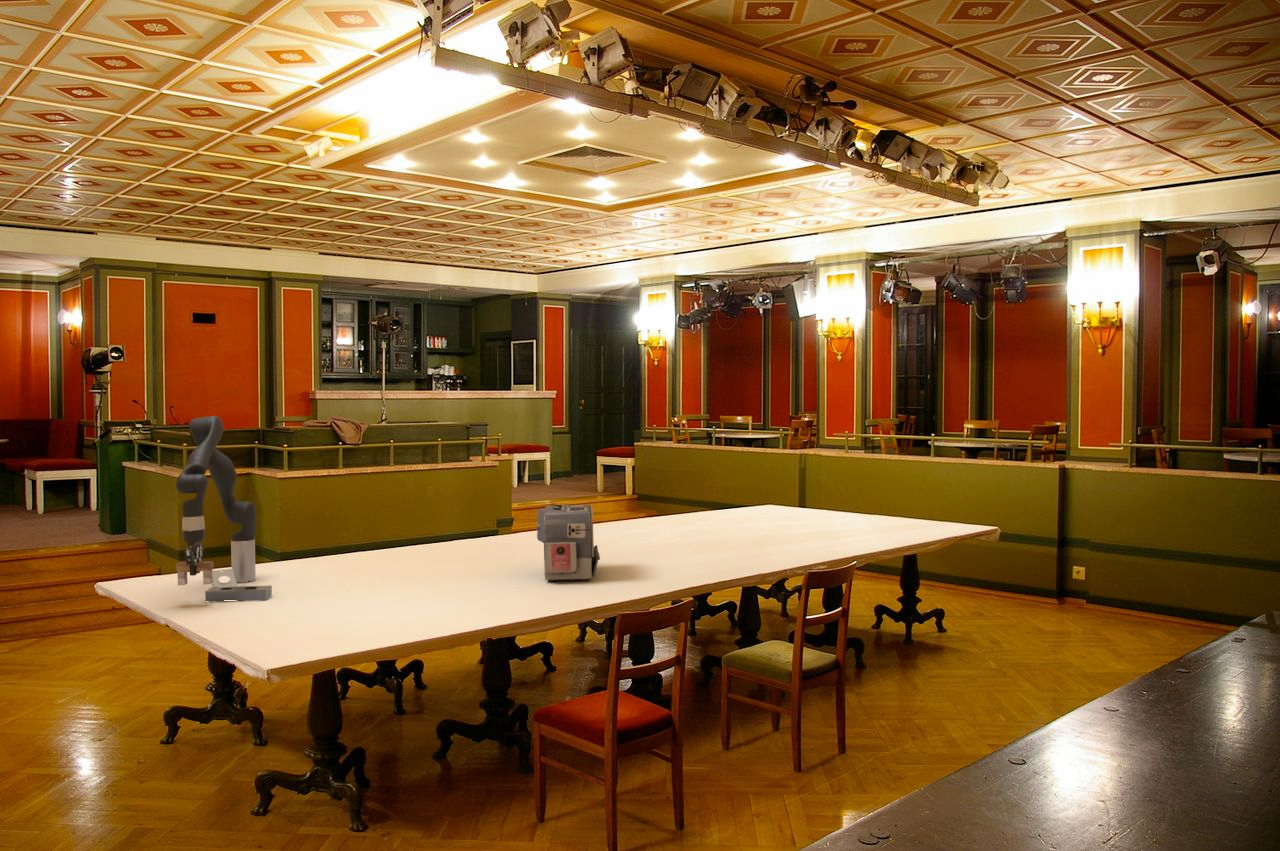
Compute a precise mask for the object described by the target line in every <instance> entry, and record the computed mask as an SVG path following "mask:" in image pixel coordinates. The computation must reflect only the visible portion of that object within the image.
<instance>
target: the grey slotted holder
mask: <svg viewBox="0 0 1280 851" xmlns="http://www.w3.org/2000/svg"><path fill="white" fill-rule="evenodd" d="M272 587H273V585H247V586H246V585H244V586H243V585H242V586H241V585H239V586H238V585H237V587H213V586H212V587H210V588H208V589H207V590H205V591H204V595H205V596H204V597H205V598H204V600H205V601H224V600H260V601H267V600H268V599H270V598H271V597H272V596H273V594H272V593H273V588H272ZM271 595H272V596H271ZM270 596H271V597H270ZM269 597H270V598H269ZM267 598H268V599H267ZM266 599H267V600H266Z"/></svg>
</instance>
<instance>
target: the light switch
mask: <svg viewBox="0 0 1280 851" xmlns="http://www.w3.org/2000/svg"><path fill="white" fill-rule="evenodd" d="M212 576H213V583H211V584H212V587H237V586H238V583H237V582H236V580H235V576H234V573H233V570H232V568H226V569H217V570H212Z"/></svg>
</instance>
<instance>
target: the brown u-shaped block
mask: <svg viewBox="0 0 1280 851" xmlns="http://www.w3.org/2000/svg"><path fill="white" fill-rule="evenodd" d="M196 563H197V564H196V569H197V571H200V572H202V580H203V581H202V582H203V583H202V584H203V585H211V584H212V583H213V576H212V571H214V561H212V560H211V561H209V560H208V561H205V560H204V561H201V562H196ZM175 566H176V567H175V568H176V569H175V570H176V573H177V586H185V585H187V584H188V573H190V566H189V565H187V563H186V561H180V562H177V563H176V564H175Z"/></svg>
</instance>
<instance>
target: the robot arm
mask: <svg viewBox="0 0 1280 851" xmlns="http://www.w3.org/2000/svg"><path fill="white" fill-rule="evenodd" d="M223 424H224V423H223V421H222V419H221V418H220V417H219V416H217V415H210V416H203V417H197V418H193V419H192V420H190V422H189V431H190V434H191V436H192V438H193V440H194V442H195V444H196V448H195V449H194V450H192V452H191V453H190V455H189V457H188V461H187V463H186V464H187V465H186V466H185V467H184V469H183V470H182V471H181V473H180V474H179V475H178V476H177V479H176V481H175V488H176V490H177V491H178V492H179V493H180V494H186V495H187V494H188V495H189V494H196V496H195V498H191V499H186V500H185V501H183V502H182V522H181V528H182V529H181V530H182V531H181V532H182V542H184V543H187V546H186V550H184V551H183V553H184V557H185V562H186V563H187V565H189V566H190V572H189V575H190V576H191V577H192V576H193V577H194V576H197V574H200V573H201V571H197V569H196V564H197V563H196V562H202V561H203V559H204V558H203V557H204V549H205V548H204V547H205V546H204V544H202V543H201V542H203V541H205V540H206V527H205V526H206V523H205V517H204V514H205V513H204V512H205V511H204V503H205V496H206V492H207V489H208V487H209V486H208V485H209V480H208V478H207V476H206V473H207V470H208V471H209V474H210V476H211V478H212V481H213V483H214V485H215V488H216V490H217V492H218V495H219V498H220V501H221V505H222V508H223V511H224V514H225V518H226V519H227V521H228V522H229V523H230V524H235V525H237V524H239V525H240V524H241V528H240V529H239V530H237V531H235V532H232V533H231V534H230V553H231V554H230V555H231V558H230V560H231V569H232V570H233V573H234V576H235V580H236V583H237V582H241V583H249V582H248V581H250V582H254V581H256V580H255V579H256V578H257V577H256V541H255V540H256V539H255V538H256V533H257V507H256V505H255V503H254V502H252V501H238V500H237V499H236V496H235V494H234V488H235V486H236V484H237V480H238V474H237V471H236V468H235V466H234V463H233V461H232V460H231V459H230V458H229V457H228V456H227V455H225V454H224V453H223V452H222V451H219V450H218V449H216V448H217V446H218V444H219V442H220V440H221V438H222V436H223V432H224V425H223ZM253 580H254V581H253Z"/></svg>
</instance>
